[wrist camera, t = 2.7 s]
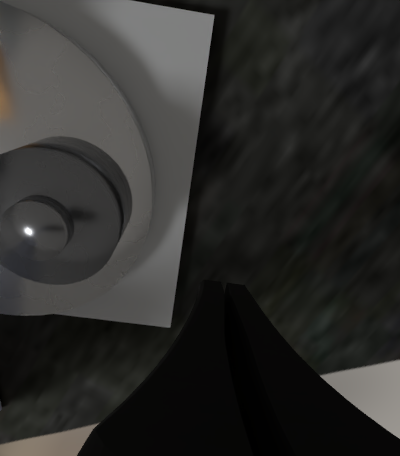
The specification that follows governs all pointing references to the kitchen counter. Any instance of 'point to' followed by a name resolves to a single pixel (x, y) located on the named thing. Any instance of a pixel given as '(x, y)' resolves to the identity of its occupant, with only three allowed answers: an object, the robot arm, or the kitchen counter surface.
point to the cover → (60, 210)
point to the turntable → (70, 127)
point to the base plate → (146, 128)
